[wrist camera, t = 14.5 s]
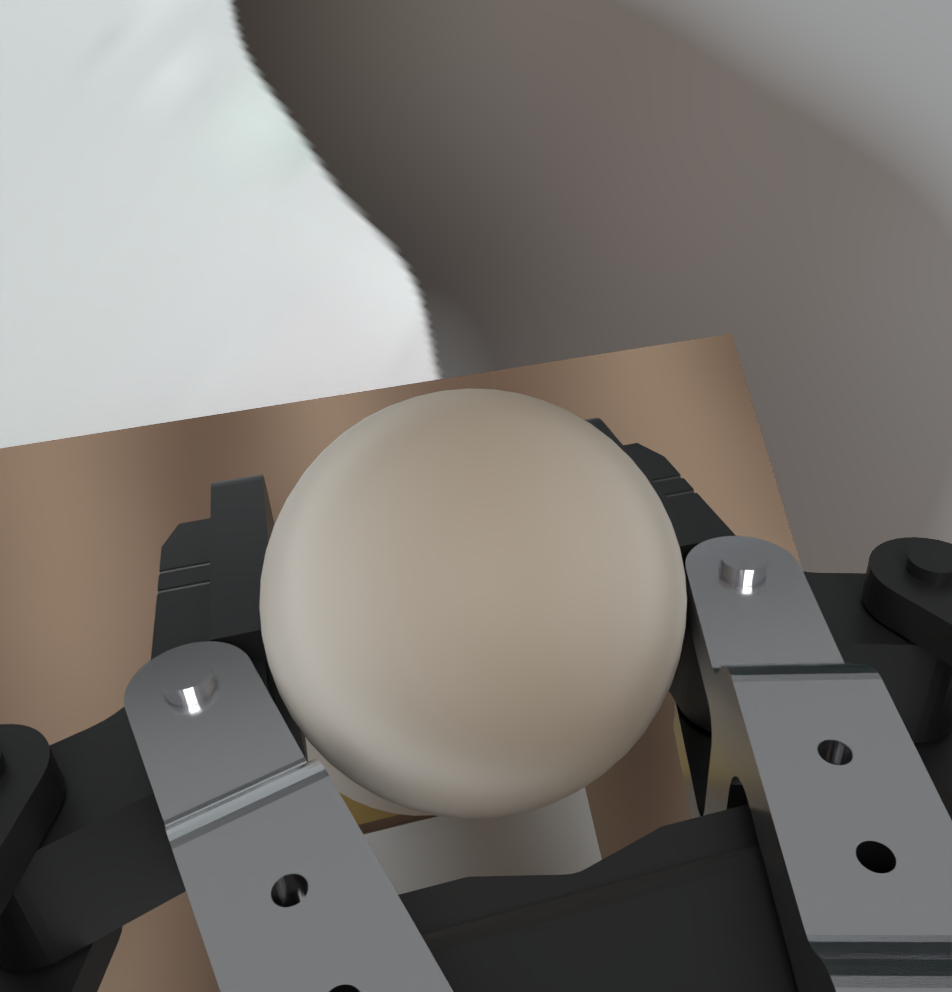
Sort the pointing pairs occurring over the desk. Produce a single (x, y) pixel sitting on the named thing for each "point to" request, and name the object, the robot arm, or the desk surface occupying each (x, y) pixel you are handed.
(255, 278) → the desk surface
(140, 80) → the desk surface
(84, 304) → the desk surface
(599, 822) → the game board
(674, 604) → the pawn
